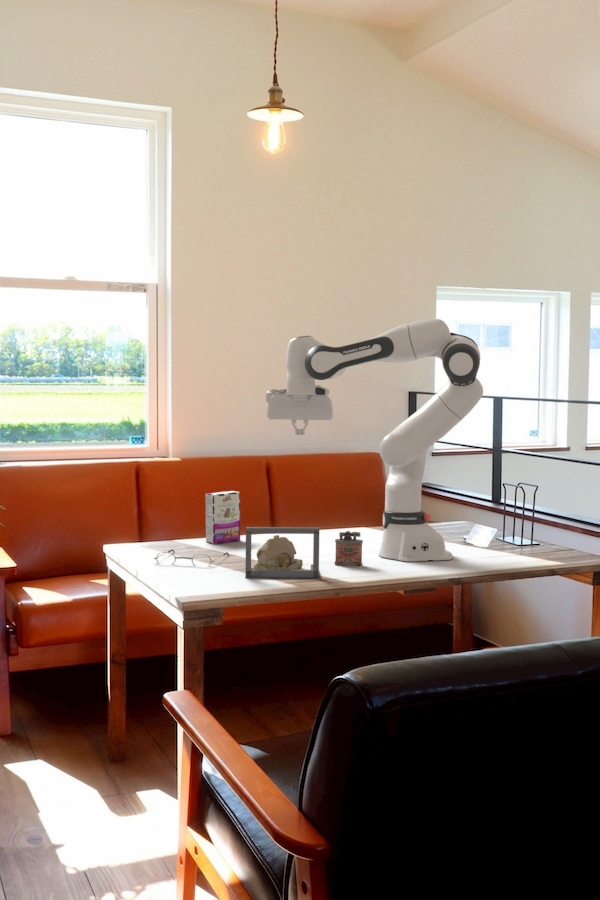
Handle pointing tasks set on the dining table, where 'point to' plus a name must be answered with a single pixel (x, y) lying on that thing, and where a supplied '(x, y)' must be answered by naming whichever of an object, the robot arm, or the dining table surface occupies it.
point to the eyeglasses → (187, 557)
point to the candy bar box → (222, 517)
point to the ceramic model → (277, 555)
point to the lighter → (348, 549)
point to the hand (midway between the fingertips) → (299, 434)
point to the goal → (283, 573)
